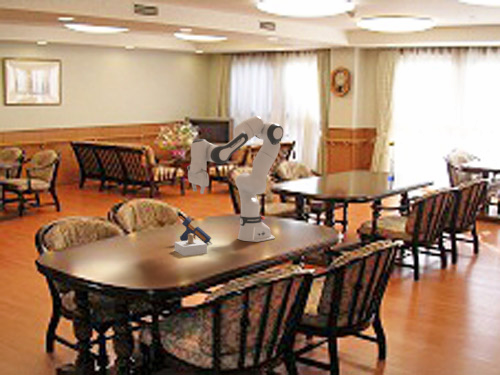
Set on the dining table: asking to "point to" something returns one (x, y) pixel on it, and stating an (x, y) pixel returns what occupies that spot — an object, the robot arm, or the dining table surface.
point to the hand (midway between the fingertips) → (198, 192)
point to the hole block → (190, 247)
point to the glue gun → (193, 232)
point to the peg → (190, 238)
